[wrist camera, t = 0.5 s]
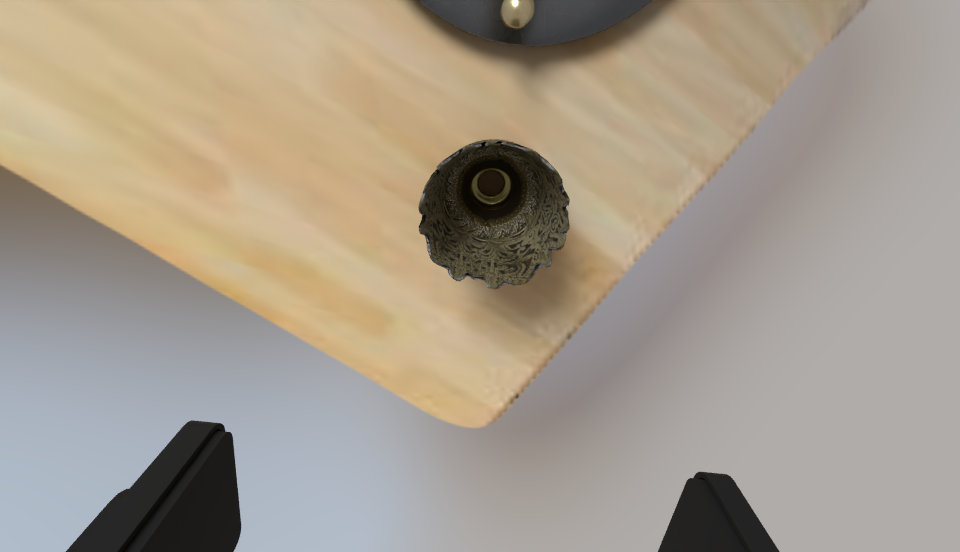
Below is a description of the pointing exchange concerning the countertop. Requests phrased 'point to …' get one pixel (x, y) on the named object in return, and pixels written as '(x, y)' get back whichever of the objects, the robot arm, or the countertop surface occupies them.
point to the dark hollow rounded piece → (494, 214)
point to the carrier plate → (533, 18)
